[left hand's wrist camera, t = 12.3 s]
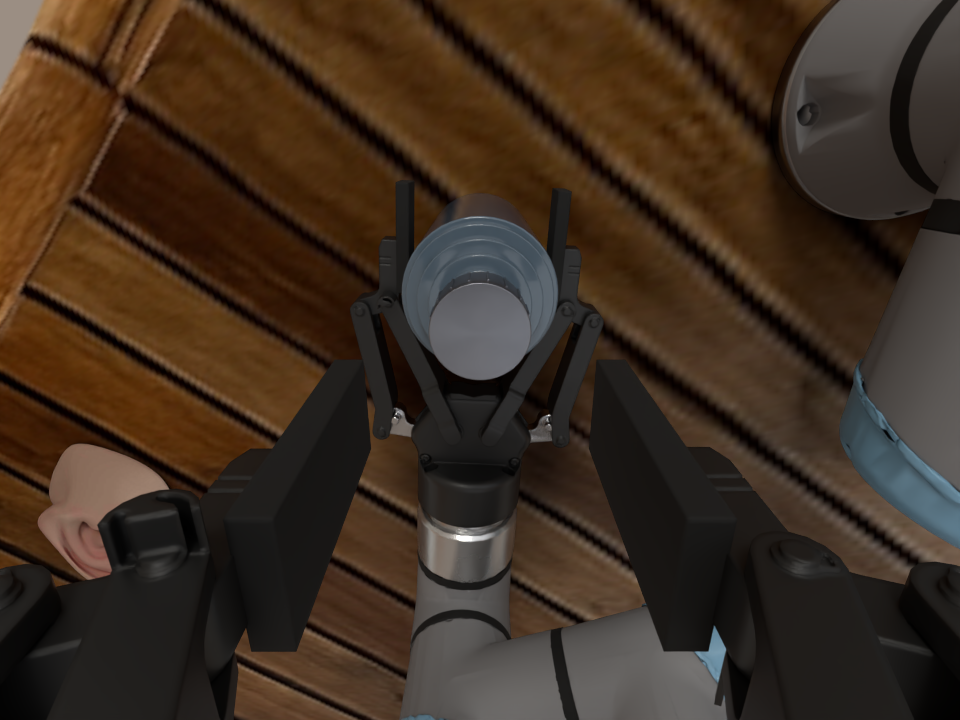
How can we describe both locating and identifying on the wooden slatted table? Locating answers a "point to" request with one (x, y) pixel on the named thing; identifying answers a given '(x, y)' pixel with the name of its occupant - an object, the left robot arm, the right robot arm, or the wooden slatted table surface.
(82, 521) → the anatomical model
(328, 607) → the wooden slatted table surface
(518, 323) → the cap
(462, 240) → the bottle
